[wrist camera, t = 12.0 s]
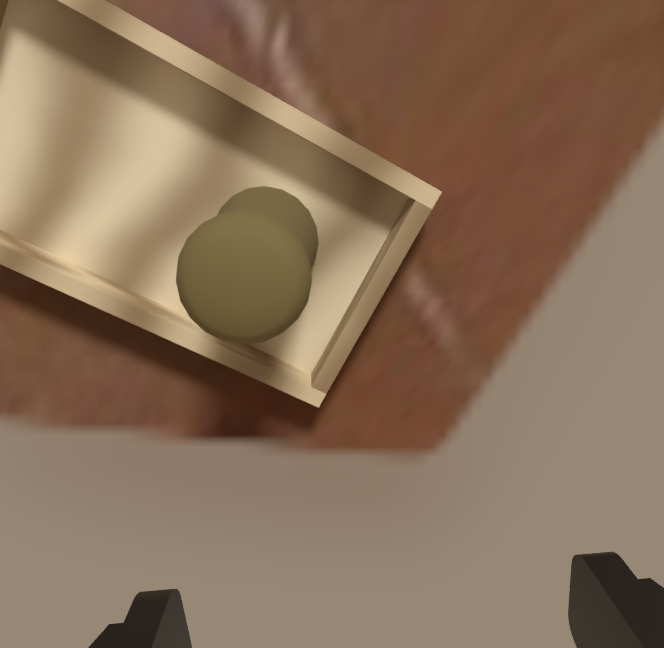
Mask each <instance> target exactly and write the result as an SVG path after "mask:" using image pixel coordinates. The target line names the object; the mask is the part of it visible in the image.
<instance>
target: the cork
mask: <svg viewBox="0 0 664 648" xmlns="http://www.w3.org/2000/svg"><path fill="white" fill-rule="evenodd" d="M318 243H319V242H318V234H317V227H316V224H315V222H314V220H313V218H312V216H311V214H310V211H309V210H308V209H307V208H306V207H305V206H304V205H303V204H302V202H301V201H300V200H299V199H298V198H296V197H295V196H293V195H291V194H289V193H288V192H286V191H284V190H282V189H277V188H272V187H267V186H261V187H254V188H247V189H245V190H243V191H241V192H239V193H237V194H235V195H233V196H232V197H231V198H230V199H229V200H228V201H227V202H226V203H225V204H224V205H223V206H222V207H221V208H220V210H219V212H218V214H217V216H215V217H213V218H211V219H209V220H207V221H205V222H203V223H202V224H201V225H200V226H199V227H198V228H197V229H196V230H195V231H194V232H193V233H192V234H191V235H190V236H189V237H188V238H187V239H186V241H185V244H184V246H183V248H182V250H181V252H180V254H179V256H178V263H177V273H176V284H177V289H178V293H179V297H180V301H181V303H182V305H183V306H184V308H185V310H186V312H187V313H188V315H189V317H190V318H191V319H192V320H193V321H194V322H195V323H196V324H197V325H198V326H199V327H200V328H201V329H203V330H204V331H205V332H206V333H208V334H210V335H212V336H214V337H216V338H218V339H220V340H222V341H225V342H231V343H237V344H243V345H245V344H252V343H260V342H265V341H267V340H269V339H271V338H273V337H276V336H278V335H280V334H282V333H283V332H284V331H285V330H287V329H288V328H289V327H290V326H291V325H292V324H293V323H294V322H295V321H296V320H298V319H299V317H300V315H301V313H302V311H303V310H304V308H305V306H306V304H307V302H308V299H309V294H310V289H311V284H312V277H311V270H310V268H311V266H312V265H313V263H314V261H315V259H316V254H317V249H318Z"/></svg>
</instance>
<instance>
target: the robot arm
mask: <svg viewBox="0 0 664 648" xmlns="http://www.w3.org/2000/svg"><path fill="white" fill-rule="evenodd" d="M568 617H569V624H570V629H571V633H572V636H573V639H574V641H575V644H576V647H577V648H664V588H663V587H662V586H660V585H659V584H657V583H656V582H655V581H653V580H652V579H651V578H647V579H637V578H636V576H635V575H634V574H633V573H632V571H631V570H630V569H629V567H628V566H627V565H626V563H625V562H624V561H623V560H622V558H621V557H620V556H619V555H617V554H616V553H614V552H605V553H593V554H581V555H575V556H574V557H573V559H572V566H571V580H570V595H569V609H568ZM89 648H192V645H191V641H190V636H189V631H188V627H187V623H186V618H185V614H184V610H183V604H182V600H181V596H180V593H179V591H178V590H177V589H168V590H158V591H146V592H139V593H138V594H137V595H136V597H135V598H134V600H133V602H132V605H131V607H130V609H129V612H128V614H127V616H126V619H125V621H124V623H117V624H109V625H108V626H107V627H106V628H105V630H104V631H103V632H102V633H101V634H100V635H99V636H98V638H97V639H96V640H95V641H94V642H93V643H92V644H91V645H90V647H89Z"/></svg>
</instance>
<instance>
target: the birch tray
mask: <svg viewBox="0 0 664 648" xmlns="http://www.w3.org/2000/svg"><path fill="white" fill-rule="evenodd" d="M261 186H267V187H272V188H277V189H282V190H284V191H286V192H288V193H289V194H291V195H293V196H295V197H296V198H298V199H299V200H300V201H301V202H302V204H303V205H304V206H305V207H306V208H307V209H308V210H309V211H310V214H311V216H312V218H313V220H314V222H315V224H316V227H317V234H318V242H319V243H318V249H317V254H316V259H315V261H314V263H313V265H312V266H311V268H310V270H311V277H312V284H311V289H310V294H309V299H308V302H307V304H306V306H305V308H304V310H303V311H302V313H301V315H300V317H299V319H298V320H296V321H295V322H294V323H293V324H292V325H291V326H290V327H289V328H288V329H287V330H285V331H284V332H283V333H282V334H280V335H278V336H276V337H273V338H271V339H269V340H267V341H265V342H260V343H252V344H245V345H243V344H237V343H231V342H225V341H222V340H220V339H218V338H216V337H214V336H212V335H210V334H208V333H206V332H205V331H204V330H203V329H201V328H200V327H199V326H198V325H197V324H196V323H195V322H194V321H193V320H192V319H191V318H190V317H189V315H188V313H187V312H186V310H185V308H184V306H183V305H182V303H181V301H180V297H179V293H178V289H177V284H176V273H177V263H178V256H179V254H180V252H181V250H182V248H183V246H184V244H185V241H186V239H187V238H188V237H189V236H190V235H191V234H192V233H193V232H194V231H195V230H196V229H197V228H198V227H199V226H200V225H201V224H202V223H203V222H205V221H207V220H209V219H211V218H213V217H215V216H217V214H218V212H219V210H220V208H221V207H222V206H223V205H224V204H225V203H226V202H227V201H228V200H229V199H230V198H231V197H232V196H233V195H235V194H237V193H239V192H241V191H243V190H245V189H247V188H254V187H261ZM441 193H442V192H441V191H440V190H438V189H436V188H434V187H432V186H431V185H429V184H427V183H425V182H424V181H422V180H420V179H418V178H417V177H415V176H413V175H411V174H410V173H408V172H406V171H404V170H403V169H401V168H399V167H397V166H396V165H394V164H392V163H390V162H388V161H387V160H385V159H383V158H381V157H380V156H378V155H376V154H374V153H373V152H371V151H369V150H367V149H366V148H364V147H362V146H360V145H359V144H357V143H355V142H353V141H352V140H350V139H348V138H346V137H344V136H343V135H341V134H339V133H337V132H336V131H334V130H332V129H330V128H329V127H327V126H325V125H323V124H322V123H320V122H318V121H316V120H315V119H313V118H311V117H309V116H308V115H306V114H304V113H302V112H300V111H299V110H297V109H295V108H293V107H292V106H290V105H288V104H286V103H285V102H283V101H281V100H279V99H278V98H276V97H274V96H272V95H271V94H269V93H267V92H265V91H264V90H262V89H260V88H258V87H256V86H255V85H253V84H251V83H249V82H248V81H246V80H244V79H242V78H241V77H239V76H237V75H235V74H234V73H232V72H230V71H228V70H227V69H225V68H223V67H221V66H220V65H218V64H216V63H214V62H212V61H211V60H209V59H207V58H205V57H204V56H202V55H200V54H198V53H197V52H195V51H193V50H191V49H190V48H188V47H186V46H184V45H183V44H181V43H179V42H177V41H176V40H174V39H172V38H170V37H168V36H167V35H165V34H163V33H161V32H160V31H158V30H156V29H154V28H153V27H151V26H149V25H147V24H146V23H144V22H142V21H140V20H139V19H137V18H135V17H133V16H132V15H130V14H128V13H126V12H124V11H123V10H121V9H119V8H117V7H116V6H114V5H112V4H110V3H109V2H107V1H105V0H0V264H1V265H3V266H5V267H7V268H10V269H12V270H14V271H16V272H19V273H21V274H23V275H25V276H27V277H30V278H32V279H34V280H36V281H39V282H41V283H43V284H45V285H47V286H50V287H52V288H54V289H56V290H59V291H61V292H63V293H65V294H67V295H70V296H72V297H74V298H76V299H79V300H81V301H83V302H85V303H87V304H90V305H92V306H94V307H96V308H99V309H101V310H103V311H105V312H107V313H110V314H112V315H114V316H116V317H118V318H121V319H123V320H125V321H127V322H130V323H132V324H134V325H136V326H138V327H141V328H143V329H145V330H147V331H150V332H152V333H154V334H156V335H158V336H161V337H163V338H165V339H167V340H170V341H172V342H174V343H176V344H178V345H181V346H183V347H185V348H187V349H190V350H192V351H194V352H196V353H198V354H201V355H203V356H205V357H207V358H210V359H212V360H214V361H216V362H218V363H221V364H223V365H225V366H227V367H229V368H232V369H234V370H236V371H238V372H241V373H243V374H245V375H247V376H249V377H252V378H254V379H256V380H258V381H261V382H263V383H265V384H267V385H269V386H272V387H274V388H276V389H278V390H281V391H283V392H285V393H287V394H289V395H292V396H294V397H296V398H298V399H301V400H303V401H305V402H307V403H309V404H312V405H314V406H316V407H318V408H319V406H320V404H321V403H322V401H323V399H324V397H325V396H326V394H327V392H328V390H329V389H330V387H331V385H332V383H333V382H334V380H335V378H336V376H337V375H338V373H339V371H340V369H341V368H342V366H343V364H344V362H345V361H346V359H347V357H348V355H349V354H350V352H351V350H352V348H353V347H354V345H355V343H356V341H357V340H358V338H359V336H360V334H361V333H362V331H363V329H364V327H365V326H366V324H367V322H368V320H369V319H370V317H371V315H372V313H373V312H374V310H375V308H376V306H377V305H378V303H379V301H380V299H381V298H382V296H383V294H384V292H385V291H386V289H387V287H388V285H389V284H390V282H391V280H392V278H393V277H394V275H395V273H396V271H397V270H398V268H399V266H400V264H401V263H402V261H403V259H404V257H405V256H406V254H407V252H408V250H409V249H410V247H411V245H412V243H413V242H414V240H415V238H416V236H417V235H418V233H419V231H420V229H421V228H422V226H423V224H424V222H425V221H426V219H427V217H428V215H429V214H430V212H431V210H432V208H433V207H434V205H435V203H436V201H437V200H438V198H439V196H440V194H441Z"/></svg>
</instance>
